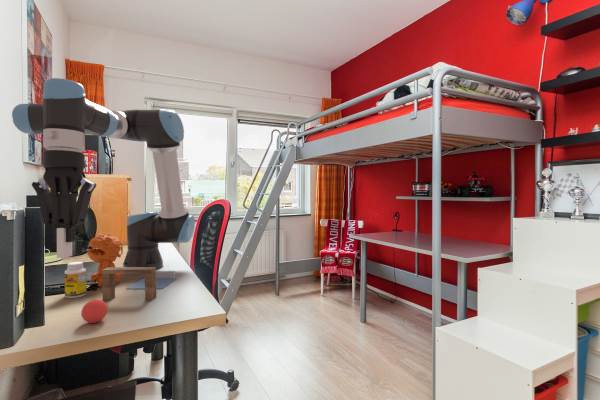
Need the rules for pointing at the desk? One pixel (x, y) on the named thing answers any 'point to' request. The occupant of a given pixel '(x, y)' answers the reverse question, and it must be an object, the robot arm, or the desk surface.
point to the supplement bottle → (75, 280)
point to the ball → (94, 311)
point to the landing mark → (159, 283)
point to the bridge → (110, 272)
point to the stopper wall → (165, 274)
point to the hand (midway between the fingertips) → (64, 256)
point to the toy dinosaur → (104, 255)
